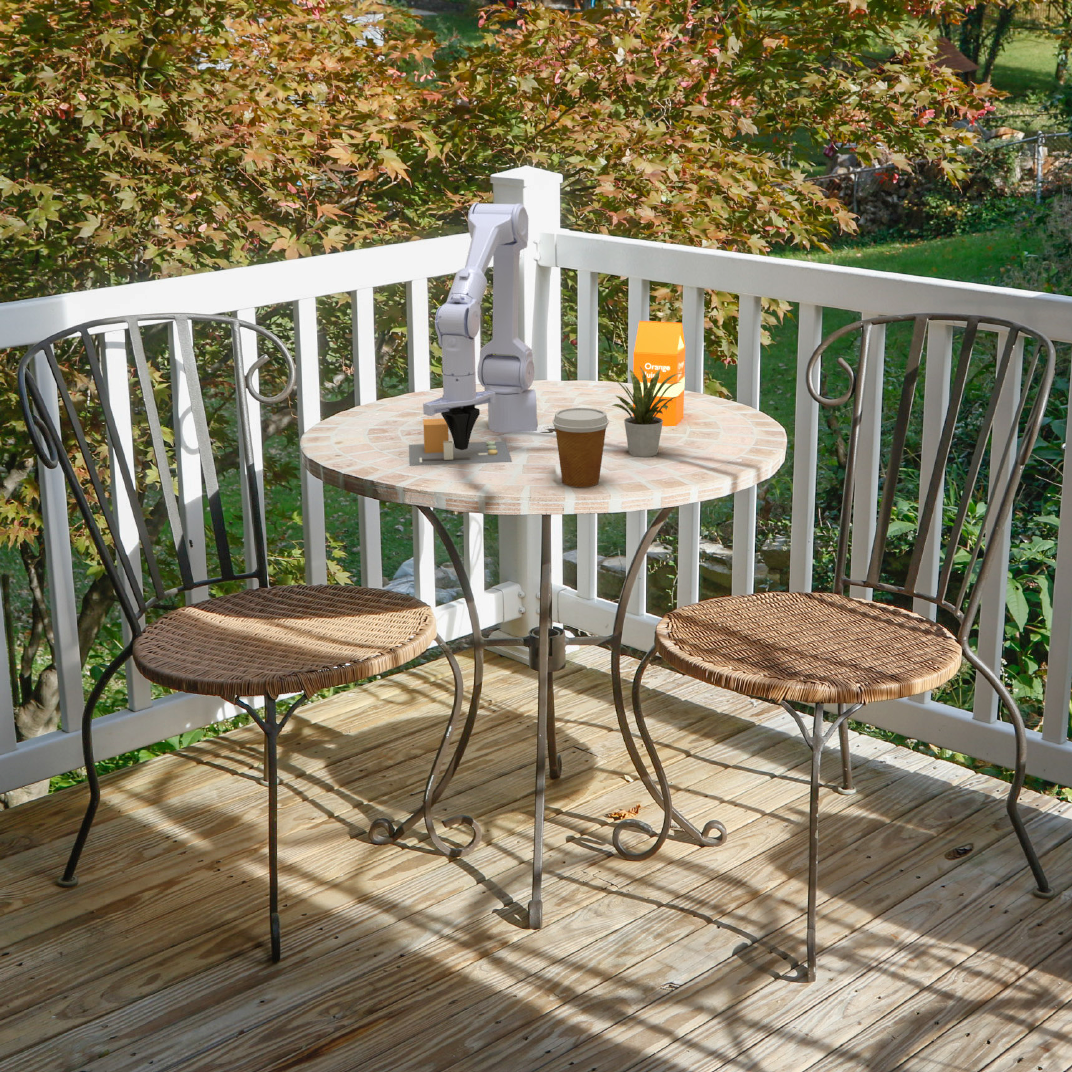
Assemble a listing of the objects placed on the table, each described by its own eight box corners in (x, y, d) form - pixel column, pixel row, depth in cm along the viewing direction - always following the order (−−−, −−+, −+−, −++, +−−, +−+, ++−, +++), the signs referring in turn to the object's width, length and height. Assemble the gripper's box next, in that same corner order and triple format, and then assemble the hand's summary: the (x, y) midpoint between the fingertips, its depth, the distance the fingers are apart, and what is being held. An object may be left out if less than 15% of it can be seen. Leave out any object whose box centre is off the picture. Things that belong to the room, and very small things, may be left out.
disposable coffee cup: (612, 489, 219) (612, 419, 215) (555, 491, 219) (555, 421, 215) (604, 473, 228) (605, 406, 224) (550, 475, 228) (549, 407, 224)
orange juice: (675, 427, 258) (678, 326, 251) (632, 424, 261) (633, 324, 254) (683, 417, 265) (686, 319, 258) (641, 415, 268) (643, 317, 261)
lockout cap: (448, 445, 241) (447, 418, 239) (449, 452, 237) (448, 424, 235) (424, 446, 240) (423, 419, 239) (424, 453, 236) (423, 425, 235)
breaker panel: (506, 448, 244) (505, 438, 243) (512, 469, 231) (511, 458, 230) (409, 452, 242) (408, 441, 242) (409, 473, 229) (409, 462, 229)
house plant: (704, 453, 240) (707, 365, 234) (656, 469, 230) (657, 377, 225) (644, 439, 249) (646, 354, 244) (596, 454, 240) (596, 366, 235)
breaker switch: (452, 456, 233) (452, 440, 232) (453, 459, 231) (452, 442, 230) (443, 457, 233) (443, 440, 232) (444, 459, 231) (443, 443, 230)
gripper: (477, 363, 235) (479, 437, 239) (411, 375, 226) (414, 451, 230) (502, 369, 230) (503, 444, 234) (436, 381, 221) (438, 459, 225)
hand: (461, 448), depth 232 cm, fingers closed
